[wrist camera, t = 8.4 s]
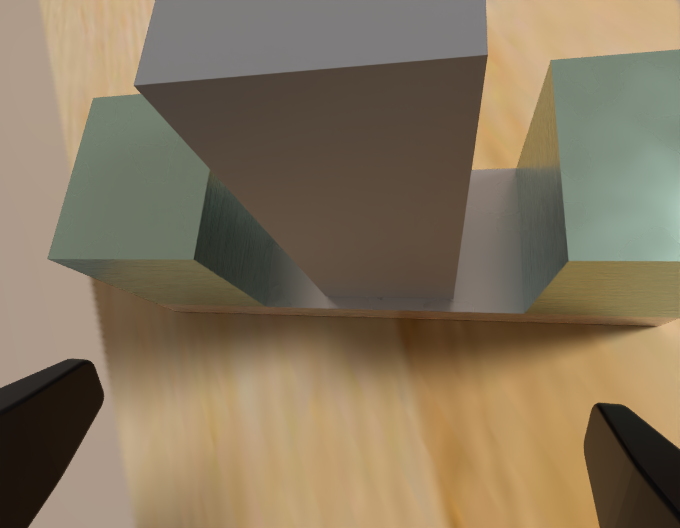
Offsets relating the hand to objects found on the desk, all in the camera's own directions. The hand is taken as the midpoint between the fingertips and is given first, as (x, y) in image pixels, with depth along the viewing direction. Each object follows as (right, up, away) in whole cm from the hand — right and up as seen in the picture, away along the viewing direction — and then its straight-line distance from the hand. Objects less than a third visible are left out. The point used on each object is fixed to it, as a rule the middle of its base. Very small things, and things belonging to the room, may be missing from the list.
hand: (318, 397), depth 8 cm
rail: (+3, +3, +12) cm, 13 cm away
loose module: (+2, +3, +10) cm, 11 cm away
